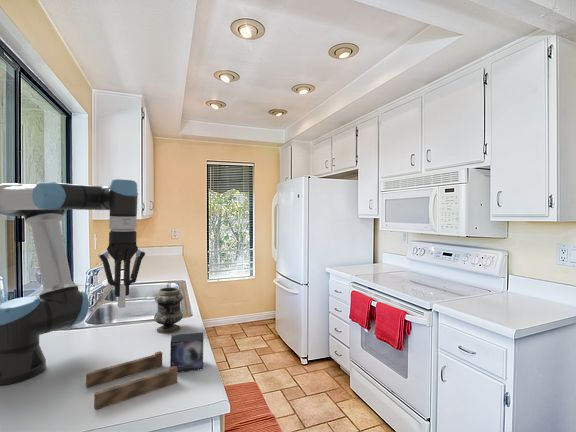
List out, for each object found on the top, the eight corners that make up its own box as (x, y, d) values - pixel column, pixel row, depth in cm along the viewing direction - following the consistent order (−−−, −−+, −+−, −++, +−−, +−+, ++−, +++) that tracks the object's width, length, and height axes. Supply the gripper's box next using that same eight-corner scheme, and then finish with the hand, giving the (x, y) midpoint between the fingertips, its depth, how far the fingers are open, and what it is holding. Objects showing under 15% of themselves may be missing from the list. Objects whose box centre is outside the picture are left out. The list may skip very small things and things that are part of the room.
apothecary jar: (183, 332, 141) (184, 291, 141) (154, 335, 137) (154, 293, 136) (181, 323, 152) (182, 285, 152) (154, 326, 148) (154, 287, 147)
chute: (95, 409, 86) (95, 392, 86) (85, 385, 97) (86, 370, 97) (177, 382, 100) (177, 367, 100) (160, 364, 111) (160, 351, 111)
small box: (169, 374, 105) (169, 342, 105) (170, 365, 111) (171, 334, 111) (203, 370, 108) (203, 338, 108) (202, 361, 114) (203, 331, 114)
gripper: (101, 231, 92) (99, 313, 93) (149, 230, 101) (147, 306, 101) (96, 229, 98) (95, 307, 99) (142, 229, 106) (140, 300, 107)
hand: (121, 306), depth 100 cm, fingers closed
